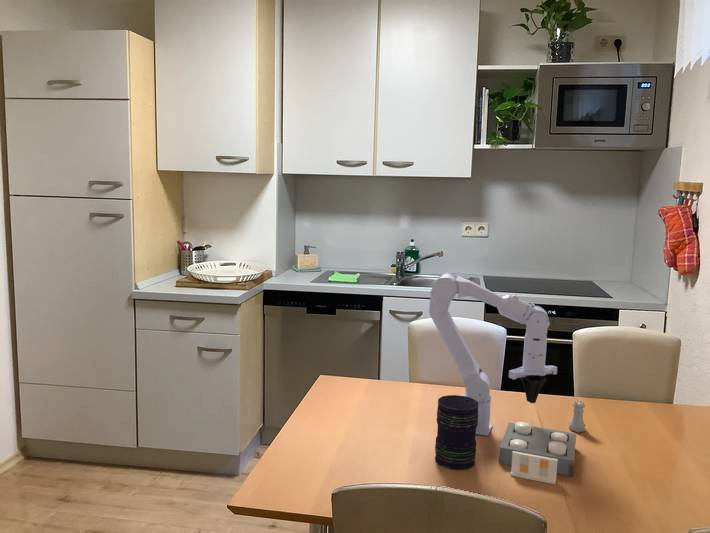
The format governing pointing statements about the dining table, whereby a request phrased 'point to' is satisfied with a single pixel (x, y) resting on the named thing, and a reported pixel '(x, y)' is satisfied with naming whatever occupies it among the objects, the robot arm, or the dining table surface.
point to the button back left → (523, 428)
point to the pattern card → (534, 467)
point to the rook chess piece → (577, 417)
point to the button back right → (559, 436)
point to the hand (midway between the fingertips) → (531, 401)
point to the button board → (539, 447)
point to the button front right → (557, 448)
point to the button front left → (518, 443)
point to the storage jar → (456, 432)
